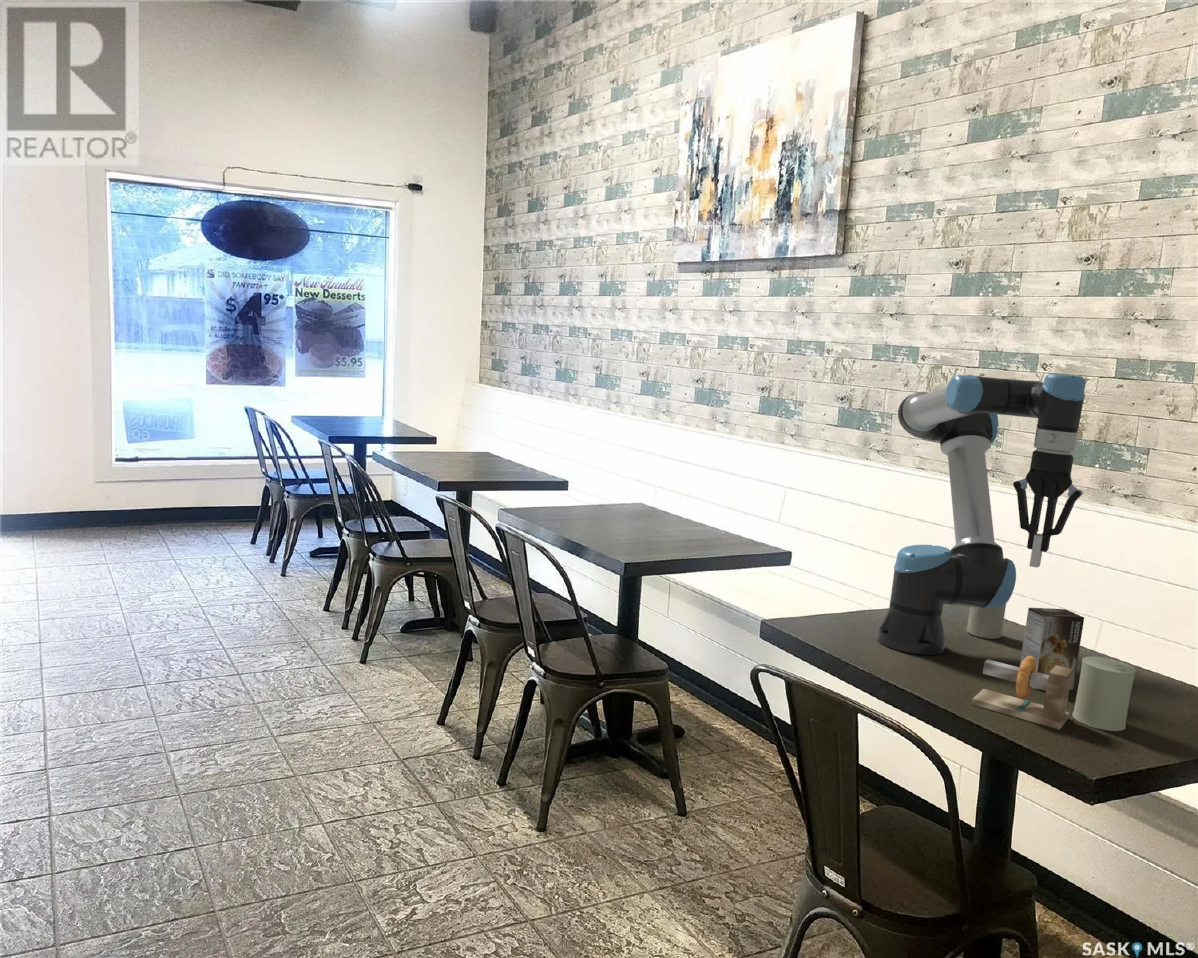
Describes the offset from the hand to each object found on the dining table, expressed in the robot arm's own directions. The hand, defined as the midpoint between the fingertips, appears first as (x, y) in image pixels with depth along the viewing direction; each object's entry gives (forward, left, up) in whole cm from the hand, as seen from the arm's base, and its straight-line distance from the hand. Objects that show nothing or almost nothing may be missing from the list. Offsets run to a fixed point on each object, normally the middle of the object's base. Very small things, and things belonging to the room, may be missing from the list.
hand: (1034, 565), depth 194 cm
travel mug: (-16, +37, -27) cm, 48 cm away
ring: (+4, -13, -23) cm, 27 cm away
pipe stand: (+4, -13, -26) cm, 30 cm away
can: (+17, -5, -27) cm, 32 cm away
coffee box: (+4, +9, -27) cm, 28 cm away
